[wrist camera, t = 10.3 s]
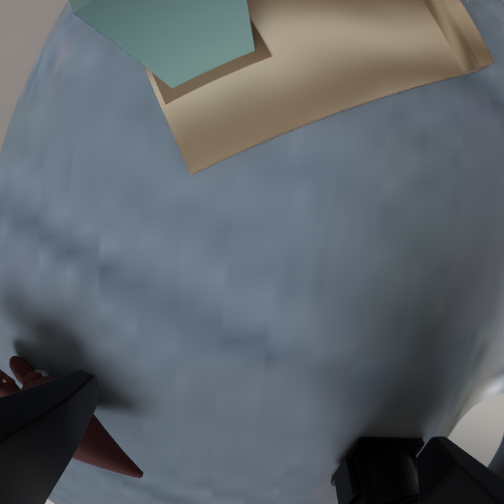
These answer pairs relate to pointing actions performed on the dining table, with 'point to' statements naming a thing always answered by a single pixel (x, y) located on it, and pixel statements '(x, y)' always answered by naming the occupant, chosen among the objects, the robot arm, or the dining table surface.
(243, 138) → the tan tray
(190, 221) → the dining table surface
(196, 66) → the block
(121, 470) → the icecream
